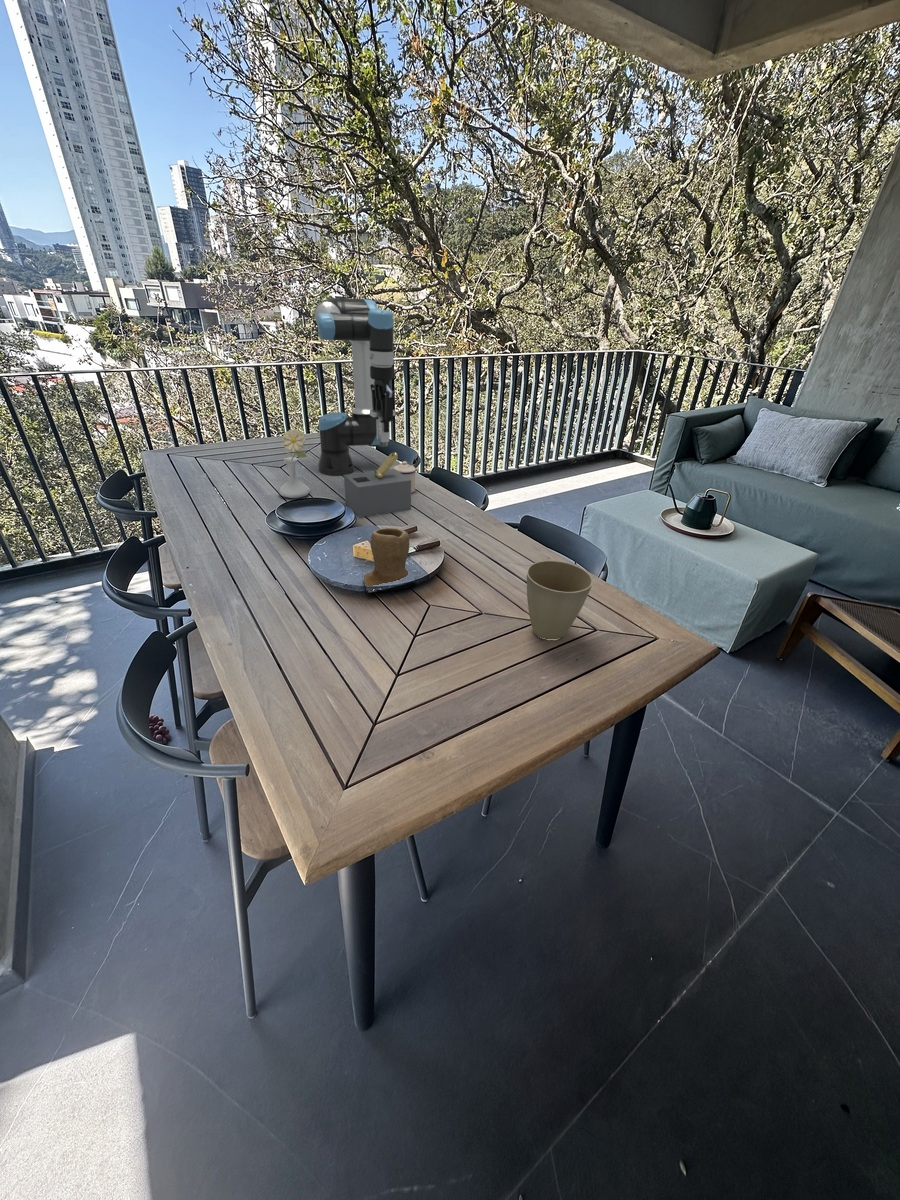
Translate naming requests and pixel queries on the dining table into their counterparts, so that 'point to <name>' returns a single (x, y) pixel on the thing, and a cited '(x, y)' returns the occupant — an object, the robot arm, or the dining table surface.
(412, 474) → the teacup with lid
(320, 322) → the robot arm
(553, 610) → the plant pot
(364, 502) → the post block
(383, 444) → the steel pin
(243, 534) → the dining table surface
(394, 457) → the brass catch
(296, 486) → the flower in vase
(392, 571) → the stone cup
